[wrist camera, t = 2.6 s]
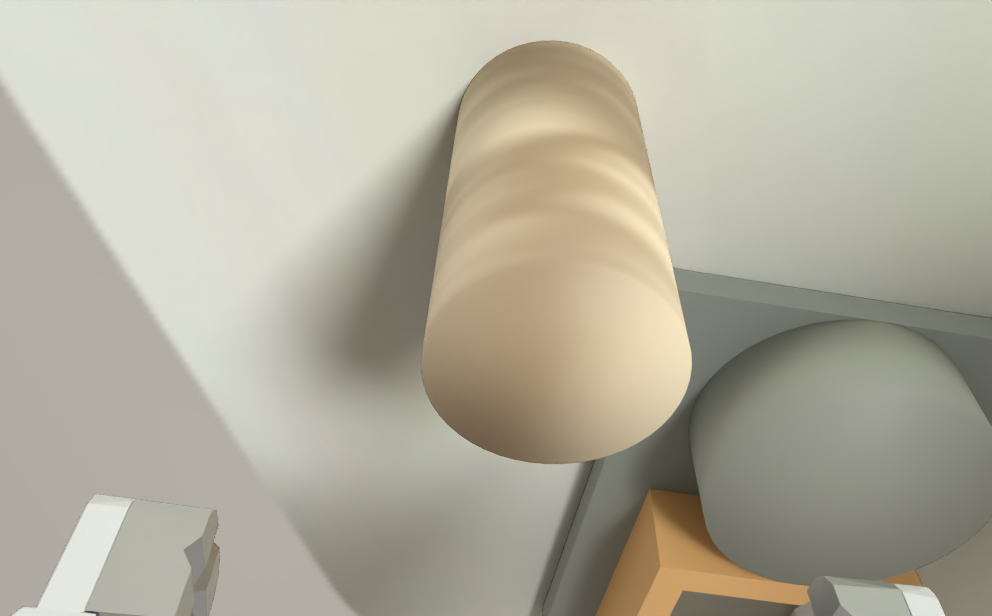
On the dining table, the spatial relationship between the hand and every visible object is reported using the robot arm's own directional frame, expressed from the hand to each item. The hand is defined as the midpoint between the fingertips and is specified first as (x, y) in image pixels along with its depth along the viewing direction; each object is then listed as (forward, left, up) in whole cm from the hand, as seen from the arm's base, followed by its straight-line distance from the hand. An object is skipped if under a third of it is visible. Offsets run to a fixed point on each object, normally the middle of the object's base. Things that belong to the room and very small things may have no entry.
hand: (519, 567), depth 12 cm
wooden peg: (-1, 0, -13) cm, 13 cm away
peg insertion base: (-11, +12, -13) cm, 20 cm away
